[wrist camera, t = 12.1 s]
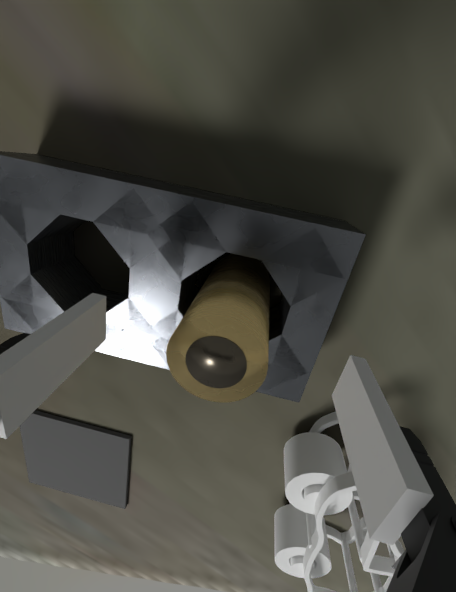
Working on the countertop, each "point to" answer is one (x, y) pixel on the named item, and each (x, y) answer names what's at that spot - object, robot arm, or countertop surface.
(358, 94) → the countertop surface
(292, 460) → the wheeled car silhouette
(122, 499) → the mat
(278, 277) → the block
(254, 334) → the bushing
